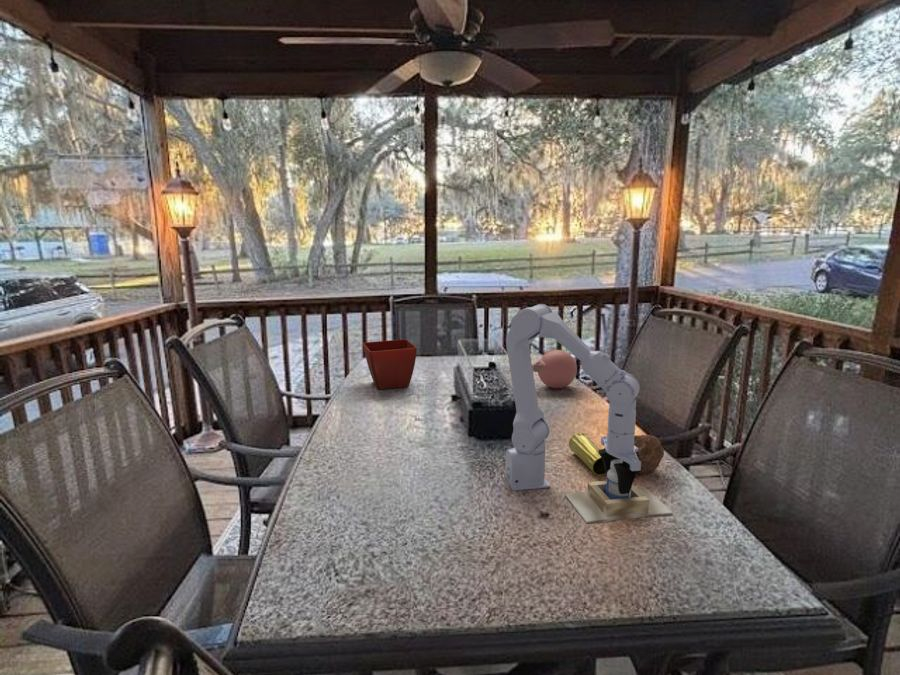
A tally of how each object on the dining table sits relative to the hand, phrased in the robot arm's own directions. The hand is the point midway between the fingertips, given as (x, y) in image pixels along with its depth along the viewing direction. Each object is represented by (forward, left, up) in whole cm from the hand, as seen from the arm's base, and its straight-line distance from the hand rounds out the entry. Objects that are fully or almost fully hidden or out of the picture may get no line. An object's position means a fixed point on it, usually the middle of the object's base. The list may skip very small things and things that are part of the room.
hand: (617, 486), depth 115 cm
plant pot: (-46, +106, -5) cm, 116 cm away
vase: (+3, +28, -1) cm, 28 cm away
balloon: (+17, +88, -5) cm, 90 cm away
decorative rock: (+13, +15, -5) cm, 20 cm away
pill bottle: (0, 0, -4) cm, 4 cm away
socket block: (0, 0, -4) cm, 4 cm away
